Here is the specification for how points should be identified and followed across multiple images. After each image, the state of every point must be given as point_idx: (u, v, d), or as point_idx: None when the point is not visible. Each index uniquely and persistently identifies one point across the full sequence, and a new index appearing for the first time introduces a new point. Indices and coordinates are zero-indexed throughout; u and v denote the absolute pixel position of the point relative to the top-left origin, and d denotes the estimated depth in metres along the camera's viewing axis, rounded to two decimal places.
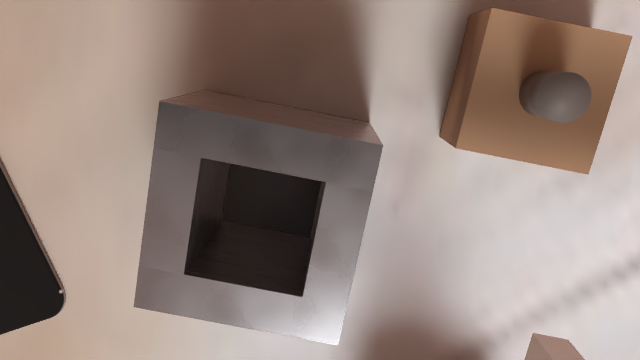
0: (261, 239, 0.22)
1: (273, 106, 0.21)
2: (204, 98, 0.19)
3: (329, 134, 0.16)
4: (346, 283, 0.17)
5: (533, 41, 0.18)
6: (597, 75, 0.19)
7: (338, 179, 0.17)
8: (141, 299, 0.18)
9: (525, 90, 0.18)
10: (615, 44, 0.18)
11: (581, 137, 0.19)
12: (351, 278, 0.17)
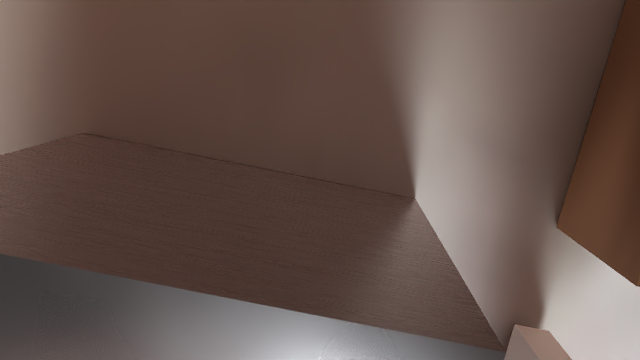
0: None
1: (214, 172, 0.10)
2: (32, 167, 0.08)
3: (334, 314, 0.05)
4: None
5: None
6: None
7: None
8: None
9: None
10: None
11: None
12: None
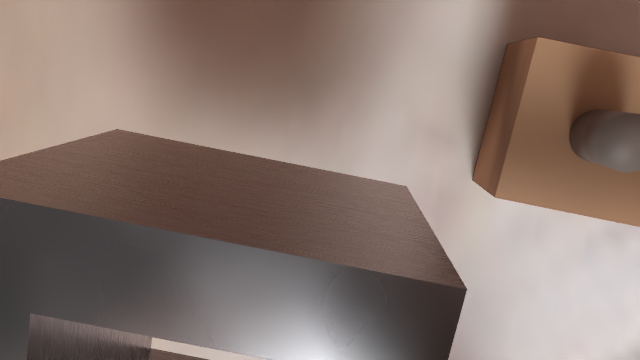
0: None
1: (232, 162, 0.11)
2: (85, 155, 0.09)
3: (336, 261, 0.07)
4: None
5: (586, 76, 0.16)
6: None
7: None
8: None
9: (578, 132, 0.16)
10: None
11: None
12: None
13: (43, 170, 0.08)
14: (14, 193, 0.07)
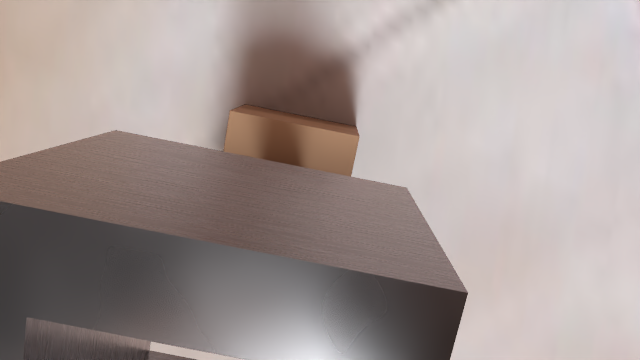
0: None
1: (231, 163, 0.11)
2: (82, 157, 0.09)
3: (335, 264, 0.07)
4: None
5: None
6: None
7: None
8: None
9: None
10: None
11: None
12: None
13: (40, 172, 0.08)
14: (10, 196, 0.07)
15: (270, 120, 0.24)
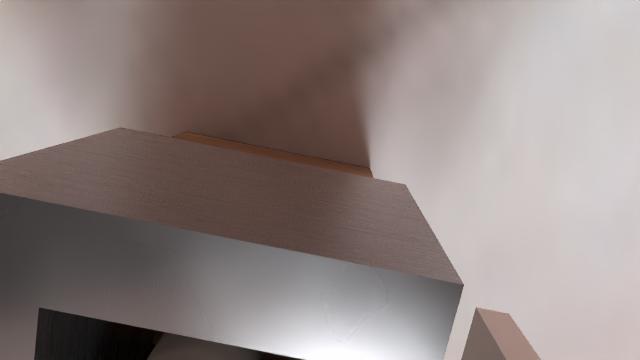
0: None
1: (234, 160, 0.12)
2: (90, 153, 0.10)
3: (336, 257, 0.07)
4: None
5: None
6: None
7: (357, 358, 0.07)
8: None
9: None
10: None
11: None
12: None
13: (50, 168, 0.08)
14: (23, 190, 0.07)
15: None
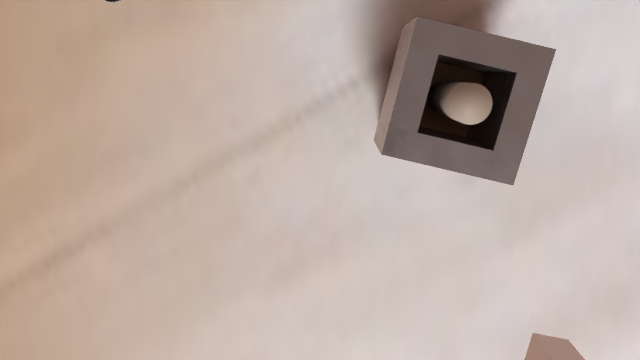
0: (438, 131, 0.31)
1: None
2: None
3: (521, 41, 0.26)
4: (523, 141, 0.27)
5: None
6: None
7: (525, 71, 0.26)
8: (387, 149, 0.27)
9: None
10: None
11: None
12: (526, 138, 0.27)
13: None
14: None
15: None
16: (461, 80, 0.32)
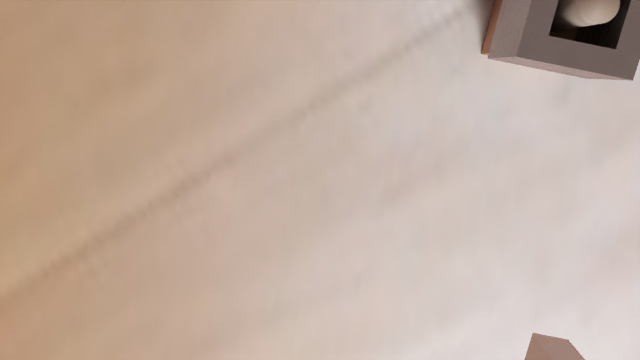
0: None
1: None
2: None
3: None
4: None
5: None
6: None
7: None
8: (521, 52, 0.31)
9: None
10: None
11: None
12: None
13: None
14: None
15: None
16: None
